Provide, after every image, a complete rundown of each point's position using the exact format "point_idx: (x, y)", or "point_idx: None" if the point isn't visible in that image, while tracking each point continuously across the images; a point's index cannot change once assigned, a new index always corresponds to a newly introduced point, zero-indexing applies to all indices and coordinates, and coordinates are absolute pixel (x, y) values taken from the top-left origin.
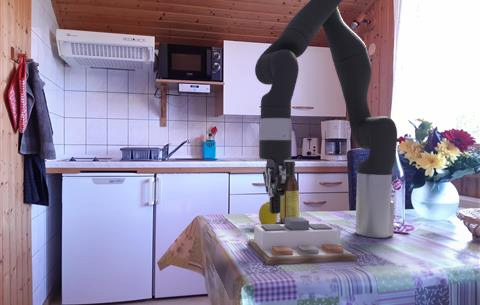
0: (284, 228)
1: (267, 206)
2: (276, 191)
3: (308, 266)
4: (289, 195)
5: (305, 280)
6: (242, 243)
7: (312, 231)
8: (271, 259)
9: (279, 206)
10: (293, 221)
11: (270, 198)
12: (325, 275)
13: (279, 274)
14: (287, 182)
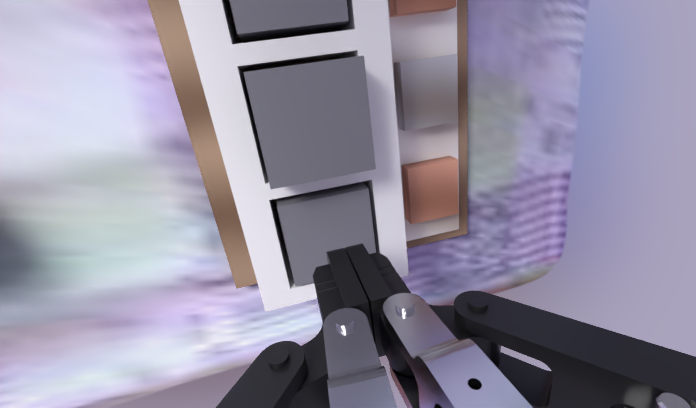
0: (362, 190)
1: None
2: (524, 364)
3: (487, 111)
4: None
5: (573, 145)
6: (241, 299)
7: (390, 49)
8: (466, 222)
9: (393, 267)
10: (373, 155)
11: (377, 350)
12: (558, 80)
13: (527, 203)
14: (673, 355)
